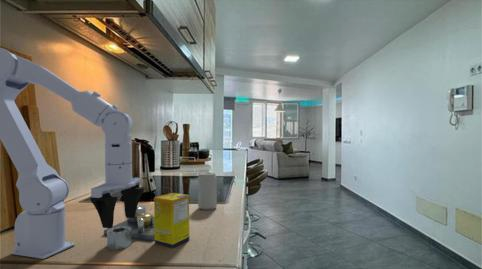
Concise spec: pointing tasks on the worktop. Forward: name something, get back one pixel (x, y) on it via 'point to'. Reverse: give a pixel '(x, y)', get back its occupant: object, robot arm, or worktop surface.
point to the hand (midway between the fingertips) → (119, 222)
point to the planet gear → (118, 237)
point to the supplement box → (171, 219)
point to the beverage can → (207, 191)
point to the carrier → (140, 225)
